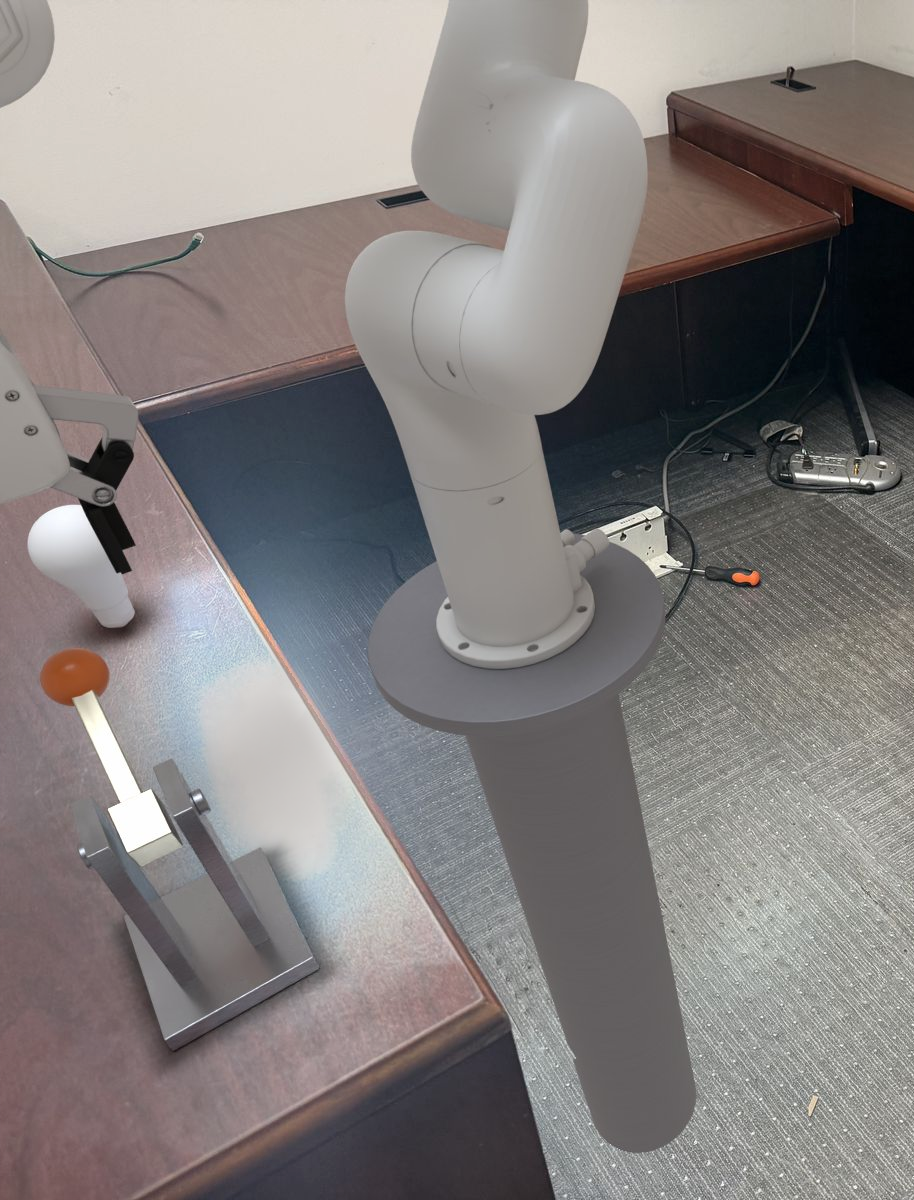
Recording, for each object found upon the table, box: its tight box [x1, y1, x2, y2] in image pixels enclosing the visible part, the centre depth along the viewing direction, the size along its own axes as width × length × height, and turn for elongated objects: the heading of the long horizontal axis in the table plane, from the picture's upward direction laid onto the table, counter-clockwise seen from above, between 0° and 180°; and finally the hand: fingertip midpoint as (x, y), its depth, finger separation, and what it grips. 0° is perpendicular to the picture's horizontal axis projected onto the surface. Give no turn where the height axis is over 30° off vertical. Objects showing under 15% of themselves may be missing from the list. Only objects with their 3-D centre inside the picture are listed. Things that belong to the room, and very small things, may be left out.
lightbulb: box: [27, 504, 136, 629], centre depth 84 cm, size 6×6×11 cm
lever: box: [39, 647, 184, 868], centre depth 59 cm, size 13×3×3 cm, turn 39°
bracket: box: [69, 758, 320, 1052], centre depth 60 cm, size 10×8×13 cm
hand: (19, 597), depth 56 cm, fingers open, 9 cm apart
